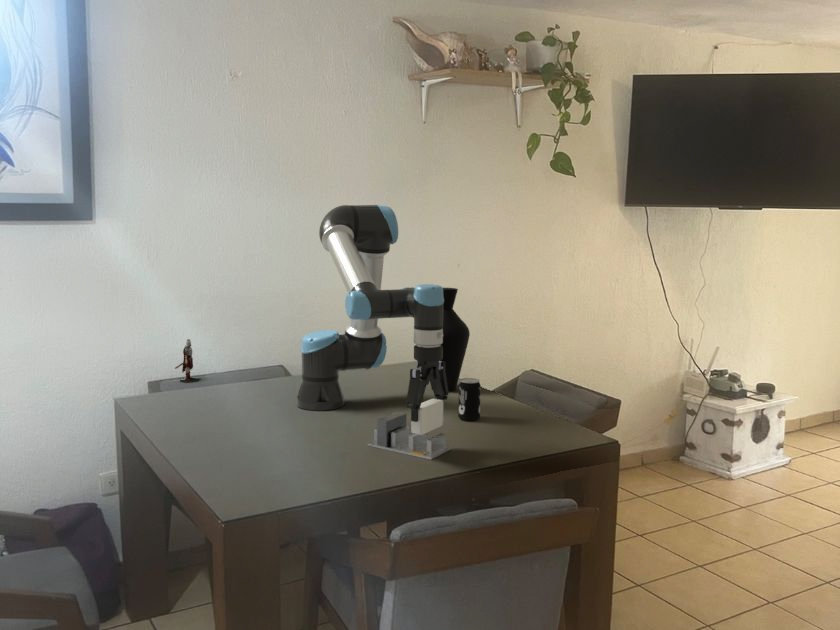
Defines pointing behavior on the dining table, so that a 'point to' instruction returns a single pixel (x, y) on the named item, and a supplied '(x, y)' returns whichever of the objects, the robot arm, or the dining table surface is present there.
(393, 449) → the rack
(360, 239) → the robot arm
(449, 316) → the vase
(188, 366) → the figurine
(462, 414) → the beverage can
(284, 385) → the dining table surface
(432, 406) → the blank panel
